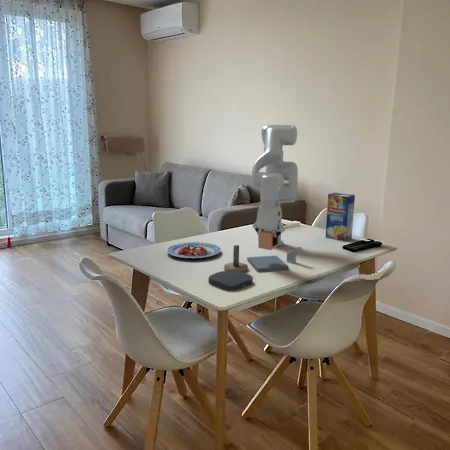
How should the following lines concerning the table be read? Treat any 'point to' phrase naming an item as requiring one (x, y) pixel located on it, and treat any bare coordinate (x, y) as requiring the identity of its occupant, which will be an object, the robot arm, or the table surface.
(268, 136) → the robot arm
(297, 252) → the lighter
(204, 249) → the ceramic plate
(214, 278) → the media streaming box
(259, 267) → the mat
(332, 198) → the juice carton
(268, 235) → the peach cube block
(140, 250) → the table surface
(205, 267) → the table surface
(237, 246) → the round pedestal stand
